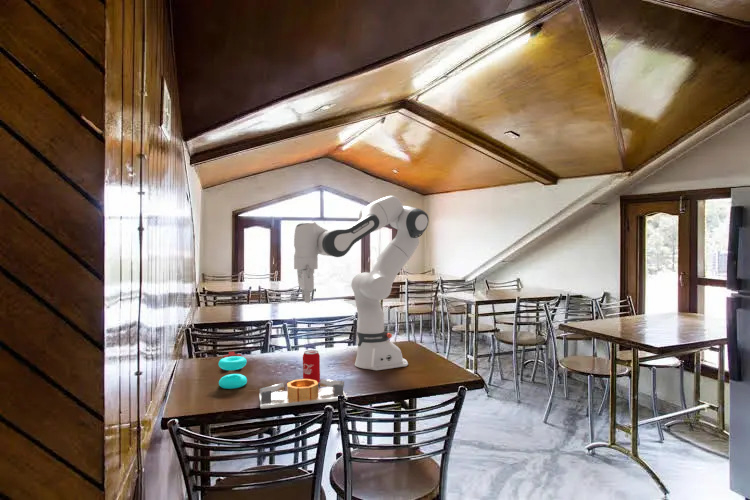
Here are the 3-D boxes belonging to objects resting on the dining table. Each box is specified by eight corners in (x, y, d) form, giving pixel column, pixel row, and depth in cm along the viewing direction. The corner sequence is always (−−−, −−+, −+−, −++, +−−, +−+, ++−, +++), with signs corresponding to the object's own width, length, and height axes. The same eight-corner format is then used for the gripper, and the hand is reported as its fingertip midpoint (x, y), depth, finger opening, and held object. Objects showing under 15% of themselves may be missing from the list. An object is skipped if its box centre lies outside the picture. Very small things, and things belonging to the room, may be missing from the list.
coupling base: (340, 388, 168) (340, 372, 168) (347, 399, 157) (347, 382, 156) (259, 396, 161) (258, 379, 161) (260, 408, 149) (259, 390, 149)
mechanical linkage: (242, 370, 195) (242, 358, 195) (224, 372, 193) (224, 359, 193) (239, 361, 210) (239, 349, 210) (223, 362, 208) (222, 351, 208)
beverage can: (303, 381, 177) (303, 350, 177) (320, 381, 178) (319, 349, 178) (302, 386, 171) (302, 354, 171) (319, 386, 172) (319, 353, 171)
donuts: (215, 362, 168) (221, 355, 178) (216, 390, 168) (221, 382, 178) (244, 361, 169) (248, 354, 179) (244, 389, 169) (248, 381, 179)
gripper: (317, 265, 169) (317, 304, 169) (311, 263, 189) (311, 297, 189) (300, 265, 168) (300, 304, 168) (295, 263, 188) (295, 298, 188)
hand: (305, 300), depth 179 cm, fingers open, 8 cm apart
